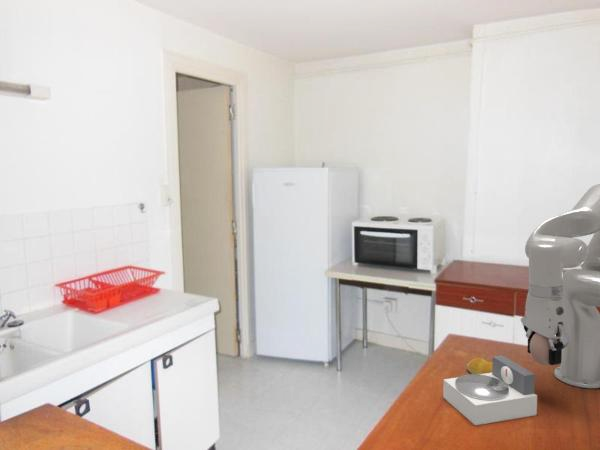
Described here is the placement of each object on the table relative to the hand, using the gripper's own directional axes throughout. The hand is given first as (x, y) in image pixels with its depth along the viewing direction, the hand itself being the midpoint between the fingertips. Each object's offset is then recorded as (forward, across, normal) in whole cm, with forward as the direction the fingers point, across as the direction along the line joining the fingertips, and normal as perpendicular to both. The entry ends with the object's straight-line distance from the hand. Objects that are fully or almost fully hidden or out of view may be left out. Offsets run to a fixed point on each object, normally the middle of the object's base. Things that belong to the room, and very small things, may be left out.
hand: (543, 357), depth 116 cm
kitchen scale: (+11, +2, +15) cm, 19 cm away
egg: (+2, 0, 0) cm, 2 cm away
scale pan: (+6, +2, +17) cm, 18 cm away
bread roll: (+12, +19, +4) cm, 23 cm away
